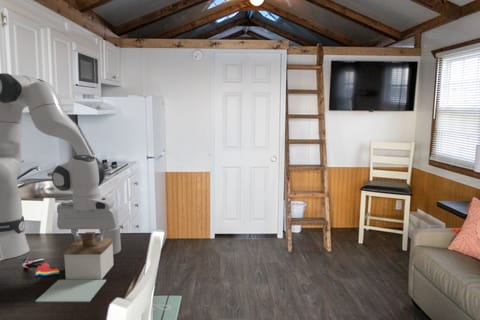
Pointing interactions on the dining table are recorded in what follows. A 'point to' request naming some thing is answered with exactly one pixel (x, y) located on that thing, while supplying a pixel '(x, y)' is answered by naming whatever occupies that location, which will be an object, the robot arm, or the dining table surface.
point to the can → (116, 235)
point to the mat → (72, 291)
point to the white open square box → (88, 265)
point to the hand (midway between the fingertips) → (89, 240)
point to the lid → (88, 245)
